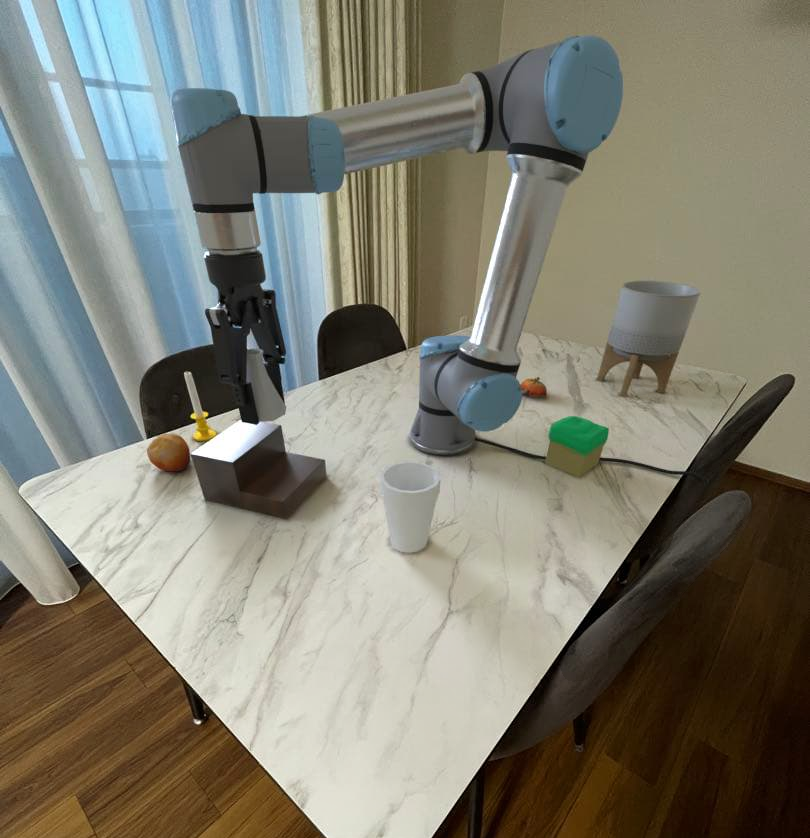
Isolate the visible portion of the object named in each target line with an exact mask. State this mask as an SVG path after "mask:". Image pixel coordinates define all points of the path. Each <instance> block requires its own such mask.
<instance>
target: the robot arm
mask: <svg viewBox="0 0 810 838" xmlns="http://www.w3.org/2000/svg"><path fill="white" fill-rule="evenodd" d="M623 75H624V74H623V71H622V70H621V67H620V59H619V56H618V54H617V52H616V50H615V49H614V47H613V46H612V45H611V44H610V43H609V42H608V40H606V39H604V38H602V37H601V36H598V35H592V34H591V35H588V34H587V35H583V36H580V35H573V36H572V35H571V36H569V37H566V38H564V39H563V40H562V41H558V42H554V43H551V44H548V45H545V46H542V47H537V48H533V49H528V50H526V51H523V52H521V53H518V54H517V55H514V56H512V57H510V58H508V59H506V60H504V61H501V62H499V63H497V64H495V65H491V66H489V67H486V68H484V69H480V70H476V71H471V72H467V73H465V74H463V76H462V77H461V78H460V80H459V82H458V84H453V85H448V86H443V87H438V88H433V89H427V90H422V91H417V92H413V93H409V94H403V95H398V96H393V97H389V98H383V99H380V100H379V99H378V100H374V101H369V102H364V103H358V104H354V105H348V106H344V107H339V108H334V109H329V110H324V111H320V112H314V113H309V114H305V115H301V116H296V115H295V116H293V115H292V116H291V115H287V116H286V115H253V114H246V113H242V111H241V107H239V103H238V99H237V96H236V95H235V94H234V93H233V92H232V91H230V90H227V89H214V88H205V87H204V88H203V87H187V88H184V87H183V88H179V89H176V90H174V91H173V93H172V94H171V97H170V98H169V106H170V110H171V117H172V122H173V127H174V131H175V137H176V145H177V148H178V153H179V157H180V160H181V164H182V169H183V173H184V176H185V181H186V185H187V189H188V193H189V197H190V202H191V204H192V210H193V213H194V217H195V220H196V225H197V230H198V234H199V239H200V243H201V247H202V248H204V249H205V250H207V251H206V252H205V253H204V255H203V259H204V264H205V267H206V272H207V276H208V280H209V282H210V283H211V284H212V285H213V286H214V287H215V288H216V289H217V305H215V306H214V307H206V308H205V310H204V315H205V318H206V320H207V322H208V324H209V327H210V331H211V332H210V334H211V341H212V345H213V351H214V357H215V363H216V370H217V376H218V382H220V383H221V384H226V385H230V386H231V388H232V392H233V397H234V400H235V401H234V402H235V404H236V405H237V408H238V412H239V414H240V415H239V416H240V420H241V421H242V422H243V423H248V424H254V425H257V424H259V419H258V414H257V409H256V405H255V400H254V395H253V390H252V385H251V382H246V381H247V349H248V336H249V335H250V334H252V335H253V338H254V340H255V343H256V345H257V347H258V349H261V350H263V356H262V358H263V363H264V362H265V363H264V366H265V368H266V371H267V374H268V376H269V378H270V380H271V381H272V383H273V385H274V387H275V389H276V390H277V392H278V394H279V395H280V397H281V399H282V400H283V402H284V404H285V405H286V401H285V394H284V388H283V381H282V380H283V379H282V373H281V367H280V365H285V363H286V358H285V356H286V355H287V349H286V345H285V340H284V335H283V331H282V327H281V323H280V318H279V314H278V309H277V295H276V291H275V290H274V289H267V288H262V286H261V284H263V283H264V282H265V281H266V280H267V276H266V270H265V269H266V268H265V263H264V257H263V253H262V252H261V251H260V250H258V248H259V247H260V246H261V243H262V242H261V236H260V231H259V224H258V220H257V219H258V218H257V214H256V210H255V209H256V208H255V203H254V194H261V195H265V194H316V195H321V194H323V193H335V192H338V191H340V189H341V188H342V186H343V184H344V180H345V175H348V174H353V173H358V172H361V171H367V170H371V169H376V168H380V167H384V166H388V165H394V164H397V163H402V162H406V161H411V160H415V159H419V158H425V157H429V156H432V155H438V154H443V153H447V152H451V151H457V150H460V149H462V150H463V151H465V153H467V154H468V155H474V154H479V153H482V152H483V153H484V152H507V153H506V157H505V159H506V162H507V164H508V167H509V169H510V173H511V178H510V182H509V185H508V190H507V193H506V198H505V201H504V206H503V210H502V212H501V213H502V214H501V217H500V222H499V225H498V229H497V232H496V236H495V240H494V244H493V249H492V252H491V255H490V259H489V263H488V267H487V272H486V275H485V280H484V282H483V287H482V291H481V295H480V299H479V302H478V305H477V309H476V315H475V318H474V322H473V326H472V328H471V333H470V335H463V334H462V335H459V334H447V335H436V336H432V337H428V338H426V339H424V340H423V342H421V345H420V353H419V382H418V383H419V387H418V390H419V391H418V394H419V395H418V409H417V411H416V414H415V417H414V420H413V423H412V425H411V427H410V431H409V432H410V434H409V435H410V436H409V441H410V443H411V445H412V446H413V447H414V448H415V449H417V450H418V451H420V452H423V453H425V454H430V455H433V456H443V457H445V456H446V457H448V456H449V457H450V456H458V455H461V454H465V453H467V452H468V451H470V450H472V449H473V448H474V446H475V444H476V442H478V443H482V444H486V445H489V446H493V447H496V448H499V449H502V450H506V451H510V452H512V453H516V454H519V455H521V456H525V457H528V458H533V459H538V460H543V461H545V460H546V455H539V454H534V453H531V452H527V451H524V450H521V449H517V448H515V447H510V446H507V445H503V444H500V443H498V442H494V441H490V440H487V439H484V438H479V437H477V434H476V433H477V432H482V433H483V432H491V431H495V430H497V429H499V428H501V427H502V426H503V425H504V424H507V423H508V422H509V421H510V420H512V418H513V417H514V416H515V414H516V413H517V411H518V410H519V408H520V406H521V404H522V400H523V390H522V388H521V387H520V385H521V383H520V381H519V380H518V379H517V375H518V372H519V370H520V366H521V363H522V359H521V357H520V355H519V354H518V351H517V348H518V345H519V342H520V339H521V336H522V332H523V329H524V326H525V323H526V319H527V316H528V313H529V310H530V307H531V303H532V301H533V297H534V294H535V291H536V288H537V285H538V282H539V278H540V275H541V272H542V268H543V265H544V262H545V259H546V256H547V253H548V250H549V246H550V243H551V240H552V236H553V234H554V230H555V227H556V224H557V221H558V218H559V214H560V211H561V208H562V204H563V201H564V199H565V195H566V192H567V189H568V187H569V186H570V185H571V184H572V183H575V181H576V180H578V179H579V178H581V177H582V175H583V171H584V170H585V169H584V168H585V165H586V163H587V160H588V157H589V154H590V153H592V152H594V150H596V149H598V148H599V147H601V144H602V143H603V142H604V141H606V140H607V139H608V137H609V136H610V135H611V133H612V131H613V129H614V128H615V125H616V123H617V121H618V118H619V115H620V112H621V108H622V103H623V95H624V76H623ZM476 431H477V432H476ZM599 462H611V463H621V464H626V465H631V466H636V467H639V468H644V469H647V470H651V471H654V472H659V473H662V474H667V475H674V476H676V475H677V476H690V477H694V478H696V479H697V480H698V481H699V482H700V483H704V484H705V483H706V481H705V479H704V478H703V477H702V476H701V474H698V473H697V472H693V471H687V470H670V469H666V468H665V469H664V468H661V467H658V466H657V467H656V466H654V465H650V464H645V463H643V462H639V461H634V460H628V459H622V458H615V457H601V456H600V459H599Z"/></svg>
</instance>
